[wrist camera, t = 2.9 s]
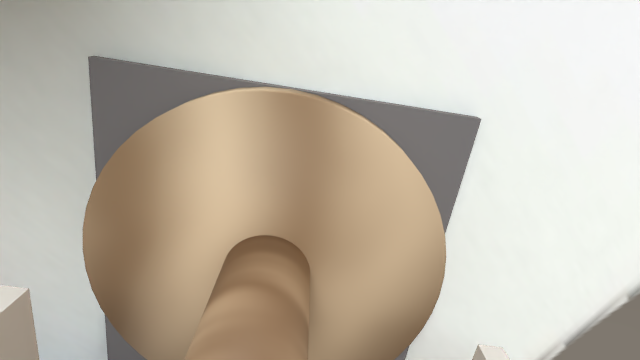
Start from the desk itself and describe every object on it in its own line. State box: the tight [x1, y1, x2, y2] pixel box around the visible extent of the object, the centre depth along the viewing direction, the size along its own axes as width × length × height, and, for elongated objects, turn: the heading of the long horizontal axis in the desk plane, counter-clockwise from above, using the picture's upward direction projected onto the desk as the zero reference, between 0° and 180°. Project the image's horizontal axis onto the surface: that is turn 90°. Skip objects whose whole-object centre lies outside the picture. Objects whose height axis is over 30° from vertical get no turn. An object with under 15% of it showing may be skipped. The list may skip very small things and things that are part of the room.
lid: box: [83, 87, 446, 360], centre depth 12 cm, size 14×14×8 cm
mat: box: [88, 56, 481, 360], centre depth 16 cm, size 14×14×1 cm
